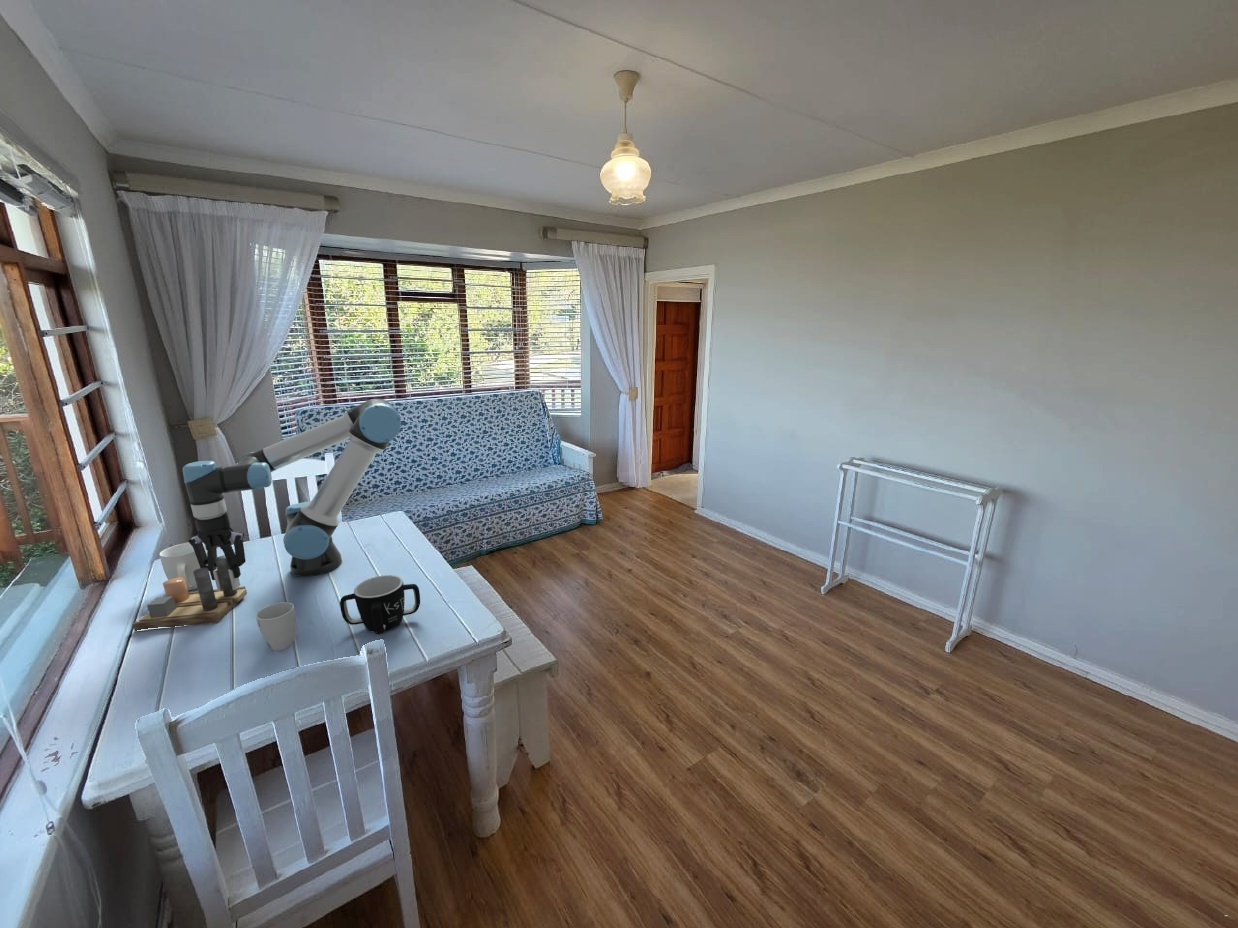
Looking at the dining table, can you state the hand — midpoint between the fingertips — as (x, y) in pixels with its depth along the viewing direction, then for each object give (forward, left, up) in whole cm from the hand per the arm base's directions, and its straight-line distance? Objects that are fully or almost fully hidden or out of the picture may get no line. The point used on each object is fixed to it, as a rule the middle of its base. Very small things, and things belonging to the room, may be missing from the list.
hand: (229, 587), depth 149 cm
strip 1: (+8, +8, -3) cm, 12 cm away
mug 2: (-48, +23, -5) cm, 53 cm away
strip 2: (+7, 0, -3) cm, 7 cm away
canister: (+14, 0, -2) cm, 14 cm away
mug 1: (+17, -12, -5) cm, 22 cm away
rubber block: (+13, +7, -2) cm, 15 cm away
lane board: (+8, +4, -5) cm, 10 cm away
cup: (-24, +27, -5) cm, 36 cm away
